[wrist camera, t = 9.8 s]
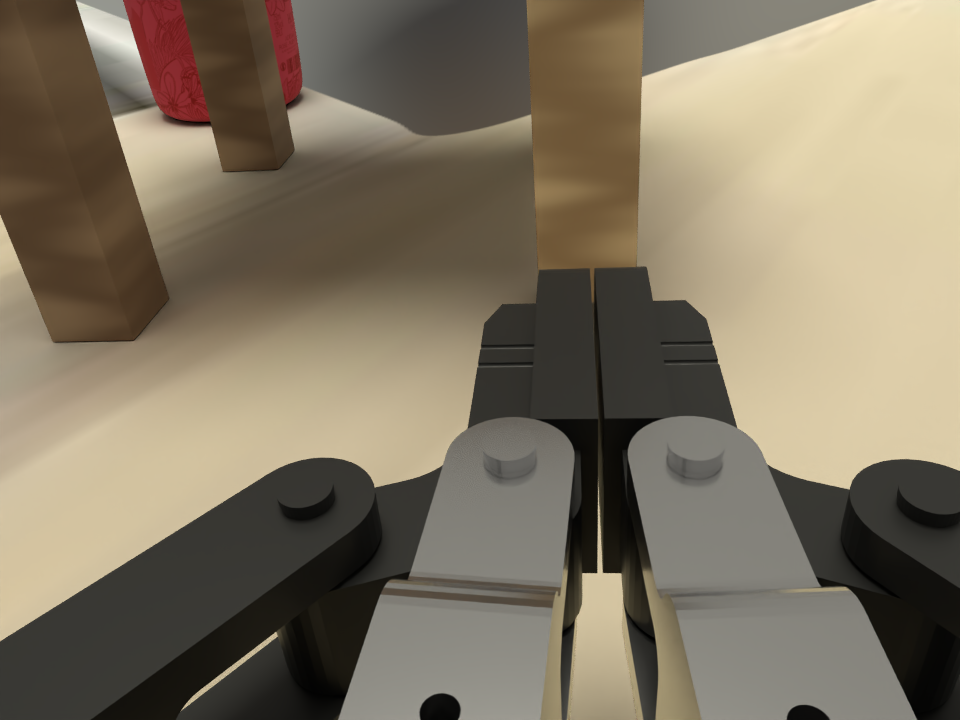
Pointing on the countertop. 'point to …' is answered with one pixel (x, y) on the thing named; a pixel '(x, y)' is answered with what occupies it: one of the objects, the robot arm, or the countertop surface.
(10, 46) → the walnut stool
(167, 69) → the red bottle
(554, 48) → the oak leg
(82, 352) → the countertop surface
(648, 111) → the countertop surface
